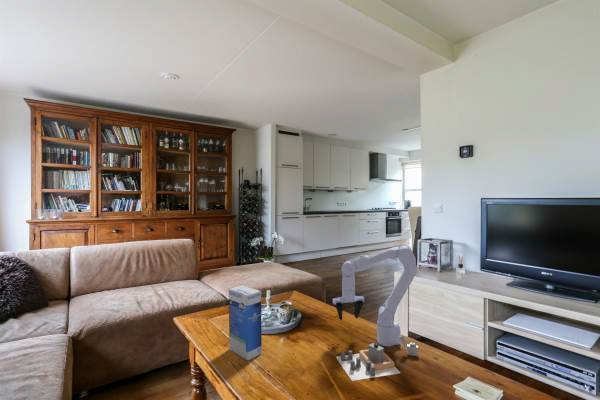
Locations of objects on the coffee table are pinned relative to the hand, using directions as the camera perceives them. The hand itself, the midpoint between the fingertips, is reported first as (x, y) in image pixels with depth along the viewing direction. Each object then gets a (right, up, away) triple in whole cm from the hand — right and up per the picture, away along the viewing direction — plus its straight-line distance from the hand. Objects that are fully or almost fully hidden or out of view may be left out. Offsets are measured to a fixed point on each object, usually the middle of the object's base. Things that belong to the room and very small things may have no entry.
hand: (348, 318), depth 135 cm
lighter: (+22, -10, -14) cm, 28 cm away
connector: (+7, -9, -20) cm, 23 cm away
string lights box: (-45, -10, -11) cm, 47 cm away
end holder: (+8, -9, -20) cm, 23 cm away
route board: (+3, -10, -22) cm, 24 cm away
